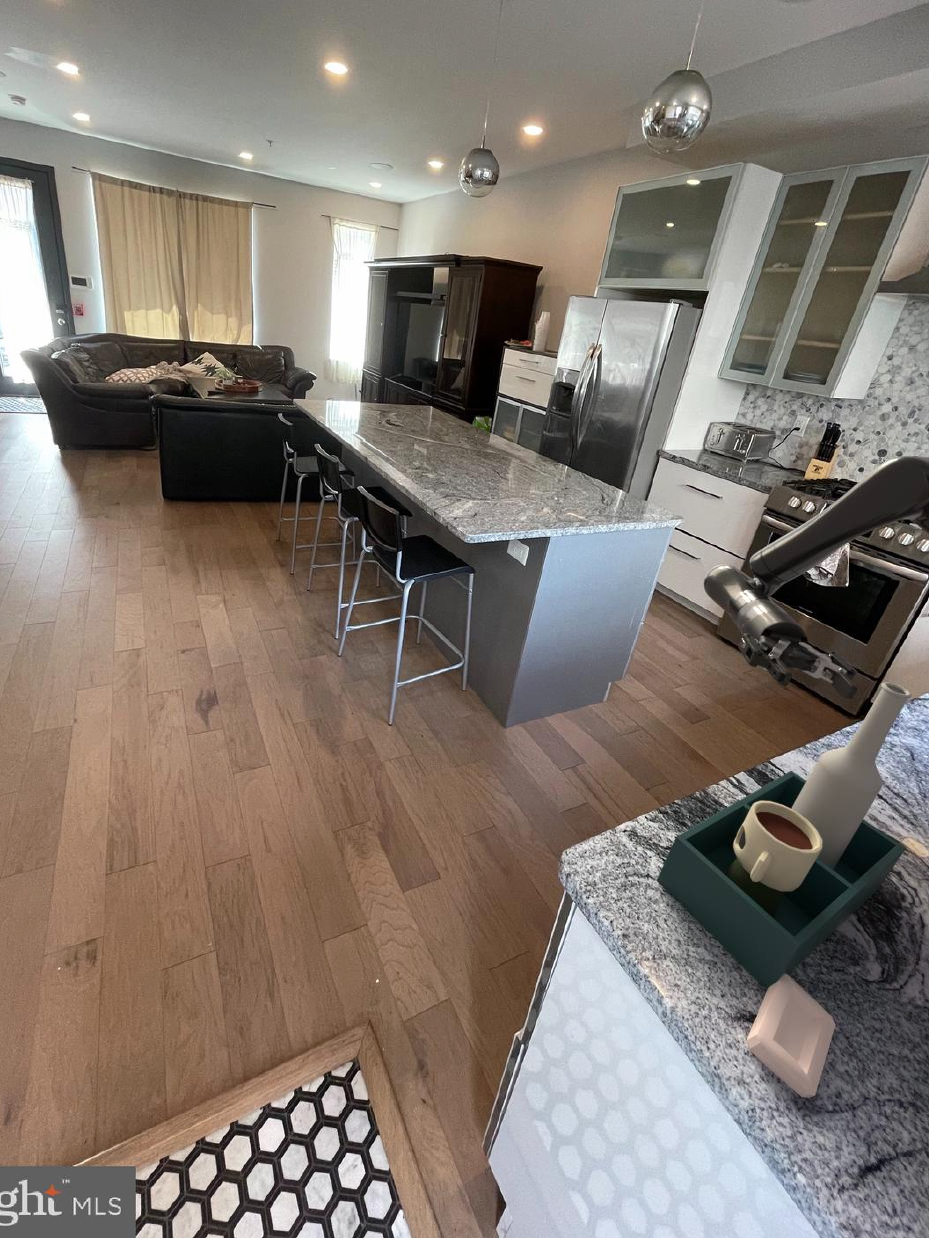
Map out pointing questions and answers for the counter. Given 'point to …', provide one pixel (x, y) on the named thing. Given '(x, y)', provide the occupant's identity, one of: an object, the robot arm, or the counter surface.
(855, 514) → the robot arm
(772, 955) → the divided storage tray
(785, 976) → the soap bar
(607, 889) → the counter surface
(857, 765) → the bottle
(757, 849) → the character mug
